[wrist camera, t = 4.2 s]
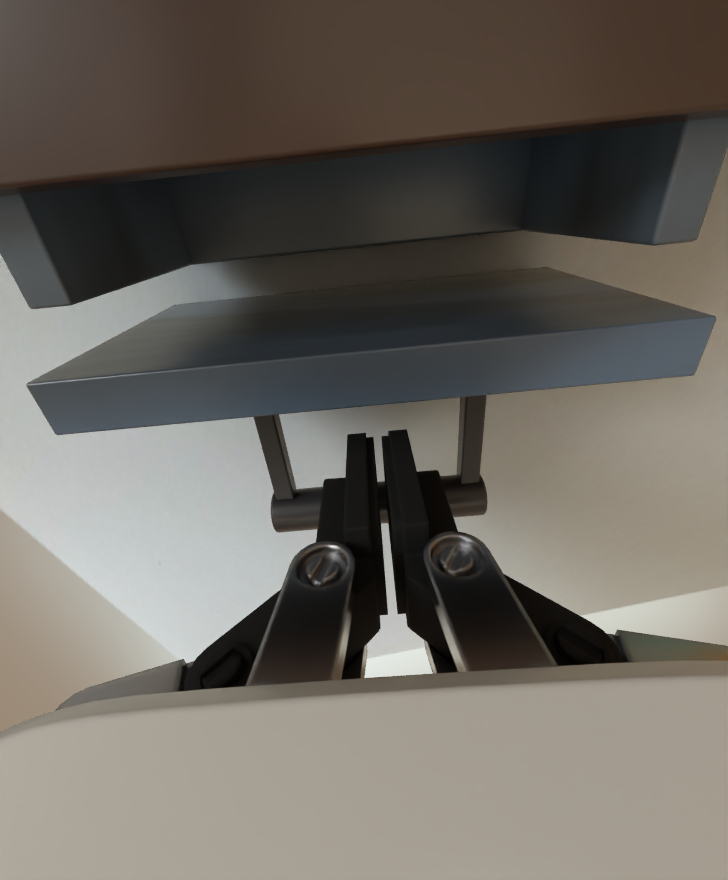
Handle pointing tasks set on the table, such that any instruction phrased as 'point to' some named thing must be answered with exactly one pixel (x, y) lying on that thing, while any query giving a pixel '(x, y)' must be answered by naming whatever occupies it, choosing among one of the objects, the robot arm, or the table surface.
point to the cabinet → (332, 79)
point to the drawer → (368, 288)
